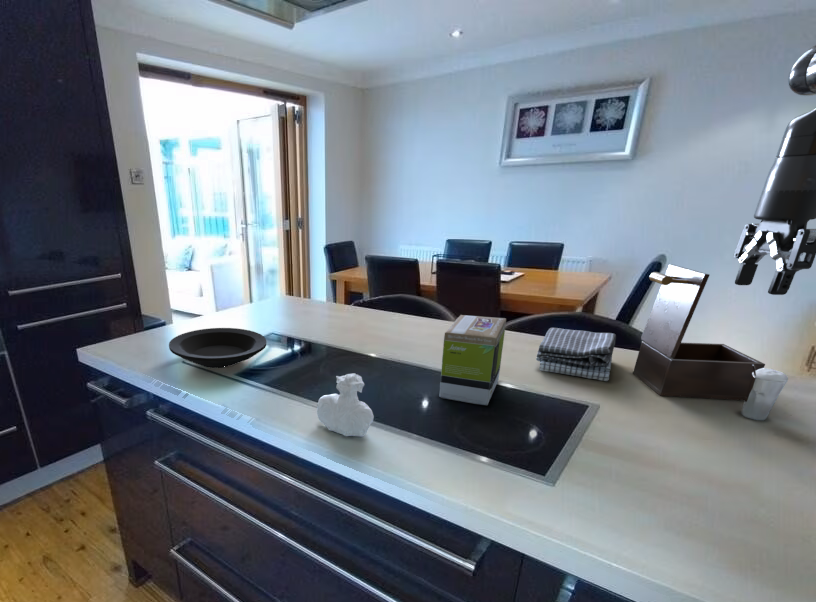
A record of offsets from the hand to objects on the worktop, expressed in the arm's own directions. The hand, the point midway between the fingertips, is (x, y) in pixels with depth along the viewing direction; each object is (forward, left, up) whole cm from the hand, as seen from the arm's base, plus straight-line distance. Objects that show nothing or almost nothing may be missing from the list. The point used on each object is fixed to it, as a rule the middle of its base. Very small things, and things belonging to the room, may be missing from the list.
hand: (758, 289), depth 76 cm
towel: (+17, -22, -23) cm, 36 cm away
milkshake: (-3, +4, -23) cm, 23 cm away
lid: (+5, -11, -6) cm, 13 cm away
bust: (+71, +13, -23) cm, 76 cm away
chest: (-1, -10, -23) cm, 25 cm away
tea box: (+45, -6, -23) cm, 50 cm away
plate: (+106, -21, -23) cm, 110 cm away
